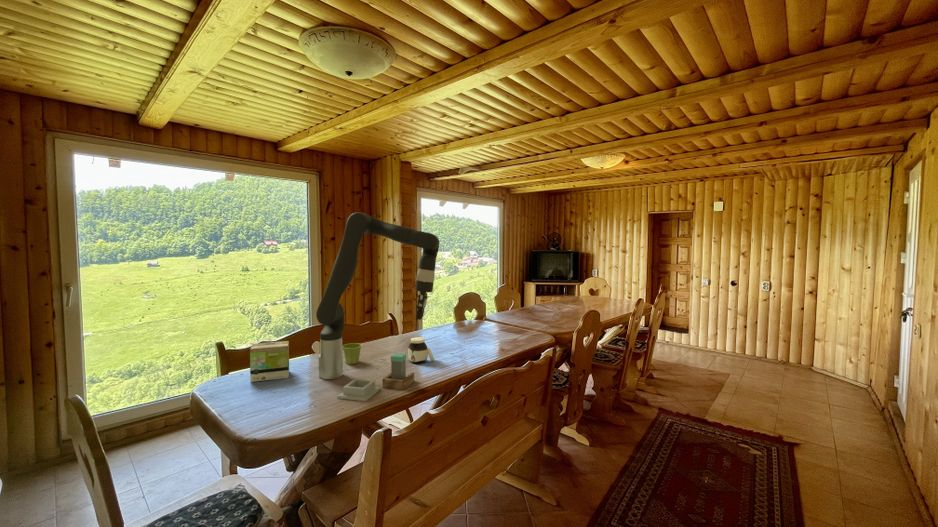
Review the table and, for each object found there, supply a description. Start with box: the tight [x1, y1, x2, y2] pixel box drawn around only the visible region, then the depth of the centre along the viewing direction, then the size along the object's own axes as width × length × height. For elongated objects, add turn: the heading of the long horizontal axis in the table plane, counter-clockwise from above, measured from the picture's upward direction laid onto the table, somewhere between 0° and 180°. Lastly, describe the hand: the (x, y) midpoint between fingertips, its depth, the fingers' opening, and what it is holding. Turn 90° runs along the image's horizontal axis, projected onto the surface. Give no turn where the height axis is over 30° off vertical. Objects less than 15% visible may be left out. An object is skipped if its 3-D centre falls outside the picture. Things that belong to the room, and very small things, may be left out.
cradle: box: [382, 372, 415, 390], centre depth 160 cm, size 10×10×4 cm
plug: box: [390, 352, 407, 380], centre depth 159 cm, size 5×5×11 cm
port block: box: [337, 378, 381, 402], centre depth 150 cm, size 12×12×4 cm
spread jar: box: [407, 336, 435, 365], centre depth 190 cm, size 12×11×12 cm
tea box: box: [249, 340, 290, 383], centre depth 168 cm, size 15×10×15 cm, turn 114°
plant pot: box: [342, 342, 363, 365], centre depth 188 cm, size 9×9×9 cm
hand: (419, 318), depth 161 cm, fingers open, 8 cm apart
